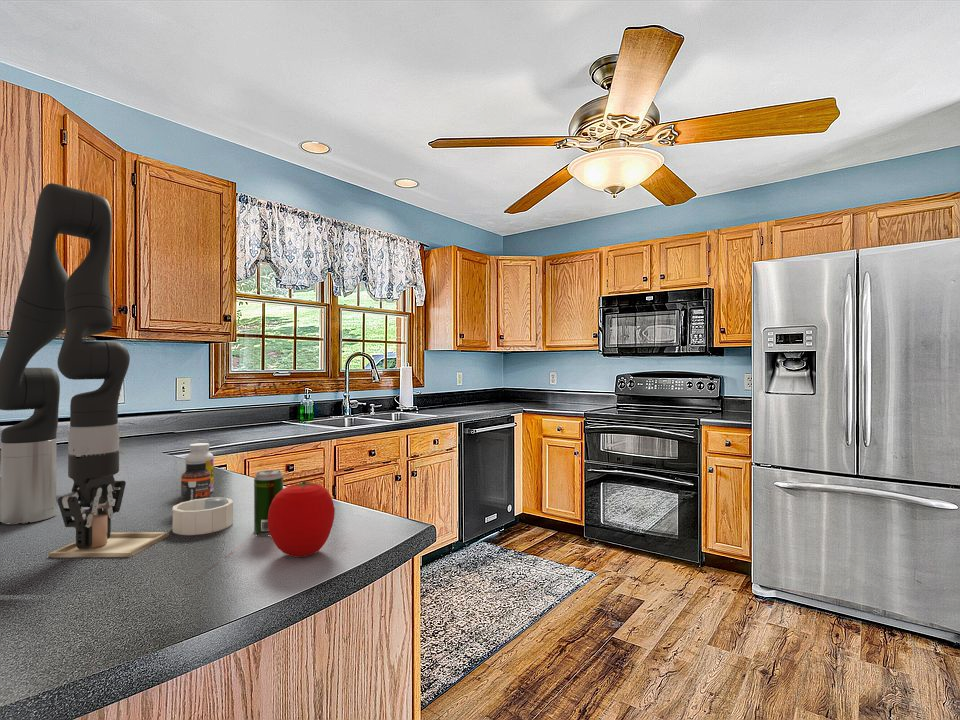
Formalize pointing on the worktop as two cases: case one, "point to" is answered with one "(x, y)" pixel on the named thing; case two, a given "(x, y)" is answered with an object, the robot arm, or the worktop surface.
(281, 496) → the red round fruit
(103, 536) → the beige cylinder
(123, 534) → the parts tray
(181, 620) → the worktop surface
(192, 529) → the bowl
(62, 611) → the worktop surface
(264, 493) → the beer can
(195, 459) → the supplement bottle
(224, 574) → the worktop surface
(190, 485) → the supplement bottle
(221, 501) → the gray metal cylinder
